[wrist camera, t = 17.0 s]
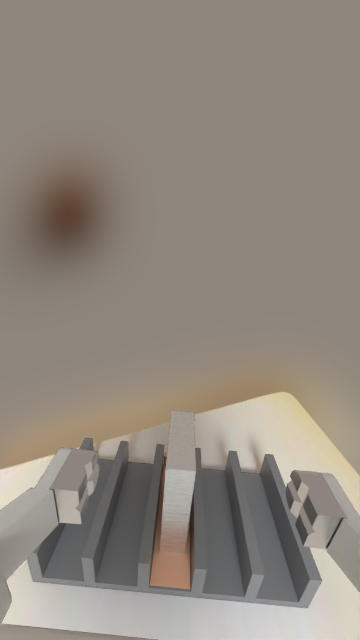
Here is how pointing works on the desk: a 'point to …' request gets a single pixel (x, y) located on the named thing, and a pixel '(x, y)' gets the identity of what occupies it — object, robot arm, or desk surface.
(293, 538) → the rack
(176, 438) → the panel
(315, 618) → the desk surface
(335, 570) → the desk surface
